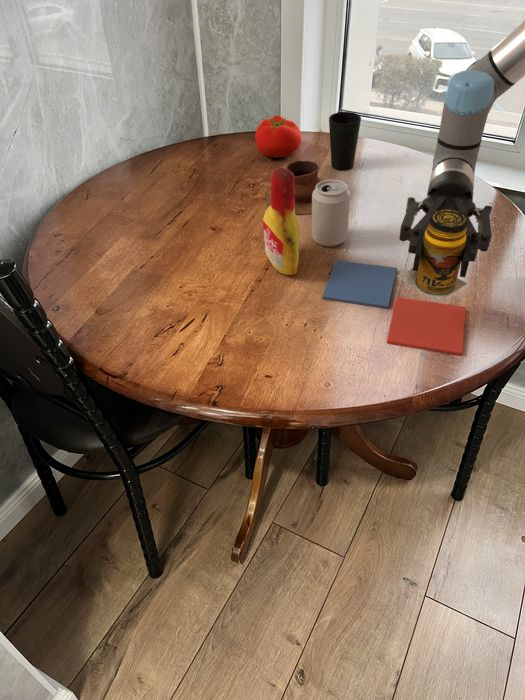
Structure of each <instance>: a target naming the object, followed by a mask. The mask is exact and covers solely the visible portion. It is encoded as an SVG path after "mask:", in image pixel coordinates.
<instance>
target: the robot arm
mask: <svg viewBox="0 0 525 700" xmlns="http://www.w3.org/2000/svg"><path fill="white" fill-rule="evenodd" d="M524 77H525V20H523V21H522V22H521V23H520V24H519V25H517V27H515V28H514V29H513V30H512V31H511V32H509V33H508V34H507V35H506V36H505V37H504V38H503V39H502V40H500V41H499V42H498V43H497V44H496V45H495V46H494V47H492V48H491V50H489V51H488V52H487V53H486V54H484V55H483V56H482V57H481V58H479V59H477V60H475V61H474V62H473V63H471V64H470V65H469V66H468V67H467V68H466V69H465V70H460V71H459V72H455V73H454V74H452V75H451V76H450V77H449V80H448V83H447V87H446V91H445V93H444V96H443V101H444V102H443V107H442V113H441V119H440V125H439V131H438V136H437V139H436V145H435V151H434V155H433V158H432V166H431V167H432V168H431V174H430V178H429V183H428V189H427V194H426V197H425V198H424V199H423V200H421V201H419V200H416V199H415V197H412V196H410V197H408V198H407V201H406V208H405V215H404V217H403V220H402V221H401V225H400V229H399V230H400V231H399V236H398V237H399V241H401V242H406V241H408V242H409V243H408V249H407V251H408V253H409V254H412V255H413V254H414V259H413V266H412V268H413V270H414V271H418V266H419V261H420V255H421V250H422V245H423V239H424V234H425V231H426V230H427V229H428V225H429V223H430V221H429V220H430V217H431V215H432V214H433V213H434V212H437V211H439V210H444V209H445V210H456V211H459V212H461V213H462V214H463V215H465V216H466V218H467V221H468V224H467V227H466V233H465V234H466V244H465V248H464V252H463V255H462V260H461V264H460V269H459V271H460V272H459V277H460V278H466V277H467V273H468V269H469V265H470V262H472V263H474V262H475V261H476V260H477V256H478V252H479V250H480V251H481V252H487V251H489V247H490V243H491V240H492V227H491V220H490V219H491V214H492V211H493V206H492V205H485V206H483V208H482V207H477V206H476V204H475V202H474V188H475V172H476V165H477V161H478V157H479V153H480V149H481V145H482V144H481V143H482V140H483V139H482V138H483V135H484V131H485V127H486V123H487V120H488V116H489V114H490V112H491V110H492V107H493V106H494V103H495V102H496V100H497V99H498V98H499V97H501V96H502V95H503V94H505V93H506V92H507V91H508V90H510V89H511V88H512V87H513V86H514V85H516V84H517V83H518V82H519V81H520V80H522V79H523V78H524ZM421 210H422V211H423V213H424V215H423V216H422V218H421V219H419V221H418V222H417V223H416V224H415V225H414V226H413V223H414V221H415V218H416V216H417V215H418V213H419V212H420V211H421ZM472 216H474V217H475V219H476V220H475V223H477V230H476V228H475V227H474V224H473V223H472V221H471V217H472Z"/></svg>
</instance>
